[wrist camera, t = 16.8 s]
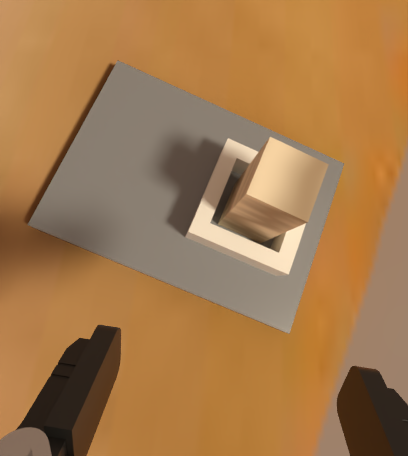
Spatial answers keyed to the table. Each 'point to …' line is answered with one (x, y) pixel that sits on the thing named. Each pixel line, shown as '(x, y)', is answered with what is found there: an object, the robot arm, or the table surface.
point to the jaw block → (274, 192)
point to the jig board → (178, 197)
